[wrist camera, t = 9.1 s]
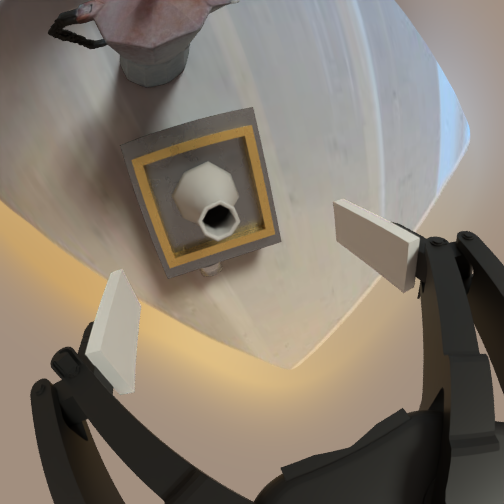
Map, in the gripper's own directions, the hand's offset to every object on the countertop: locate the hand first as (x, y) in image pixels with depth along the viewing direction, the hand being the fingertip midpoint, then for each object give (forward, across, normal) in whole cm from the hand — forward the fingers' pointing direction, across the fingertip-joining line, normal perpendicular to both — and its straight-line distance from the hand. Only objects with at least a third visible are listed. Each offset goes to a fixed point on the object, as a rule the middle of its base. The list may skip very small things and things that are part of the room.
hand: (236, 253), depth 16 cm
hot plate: (+22, 0, -1) cm, 22 cm away
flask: (+16, 0, 0) cm, 16 cm away
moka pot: (+23, -2, +19) cm, 29 cm away
